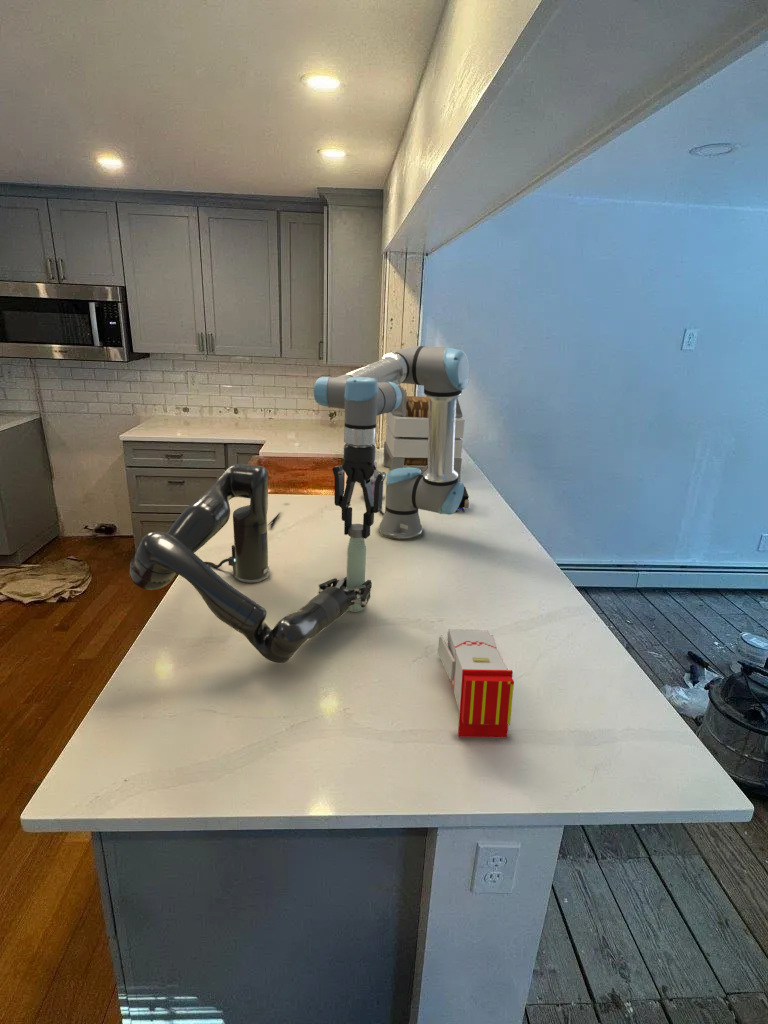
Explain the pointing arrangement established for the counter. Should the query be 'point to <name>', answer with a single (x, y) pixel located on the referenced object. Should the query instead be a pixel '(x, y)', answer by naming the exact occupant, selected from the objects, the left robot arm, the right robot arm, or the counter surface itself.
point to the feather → (273, 520)
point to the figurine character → (464, 501)
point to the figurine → (373, 482)
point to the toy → (478, 682)
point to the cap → (355, 530)
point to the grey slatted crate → (415, 434)
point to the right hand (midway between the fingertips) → (357, 534)
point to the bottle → (356, 567)
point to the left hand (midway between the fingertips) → (360, 580)
